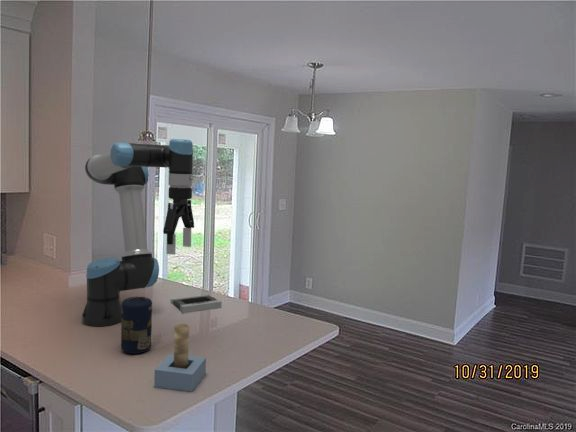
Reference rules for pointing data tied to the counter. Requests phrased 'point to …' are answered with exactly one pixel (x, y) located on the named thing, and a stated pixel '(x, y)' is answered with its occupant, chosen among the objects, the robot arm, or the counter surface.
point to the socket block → (180, 374)
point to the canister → (136, 324)
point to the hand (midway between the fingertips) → (179, 250)
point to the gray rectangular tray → (196, 303)
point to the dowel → (181, 346)
